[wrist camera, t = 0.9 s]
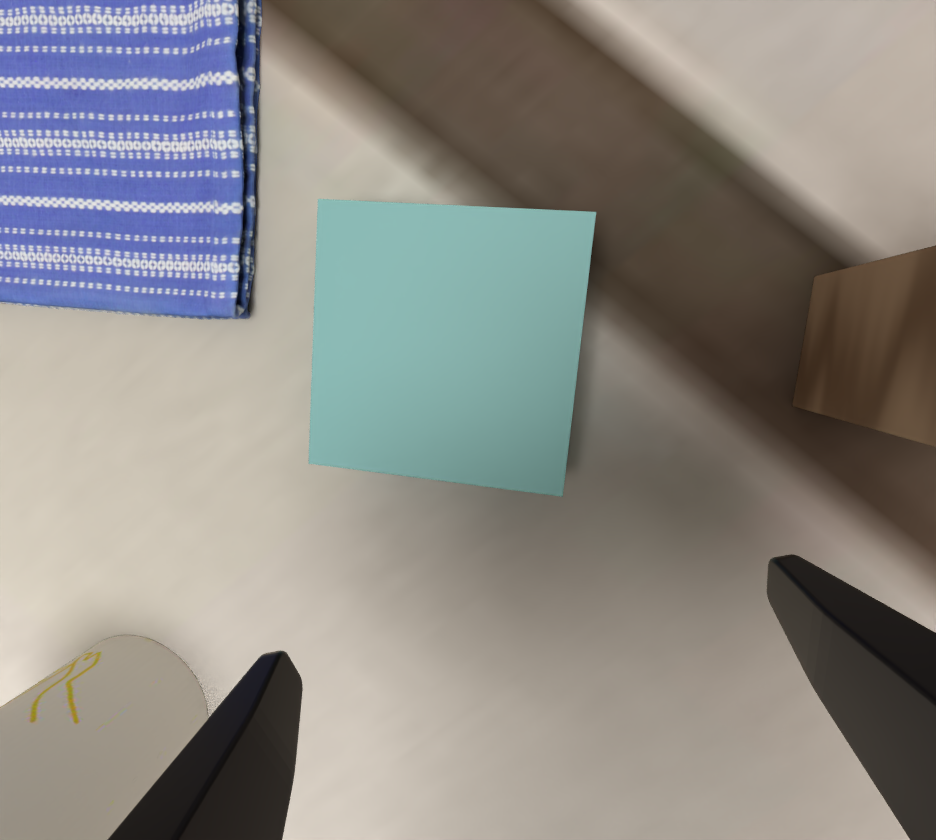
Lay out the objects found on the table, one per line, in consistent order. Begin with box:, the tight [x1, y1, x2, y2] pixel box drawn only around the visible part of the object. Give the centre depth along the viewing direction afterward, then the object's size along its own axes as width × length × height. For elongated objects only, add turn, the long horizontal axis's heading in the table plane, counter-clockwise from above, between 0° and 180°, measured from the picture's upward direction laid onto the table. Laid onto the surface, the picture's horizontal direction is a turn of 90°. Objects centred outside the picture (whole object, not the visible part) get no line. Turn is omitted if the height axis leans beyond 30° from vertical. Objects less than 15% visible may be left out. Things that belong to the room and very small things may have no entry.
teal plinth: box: [309, 199, 596, 497], centre depth 21 cm, size 10×10×4 cm
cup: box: [0, 635, 208, 840], centre depth 23 cm, size 8×8×12 cm
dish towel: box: [0, 0, 262, 319], centre depth 23 cm, size 17×24×3 cm
